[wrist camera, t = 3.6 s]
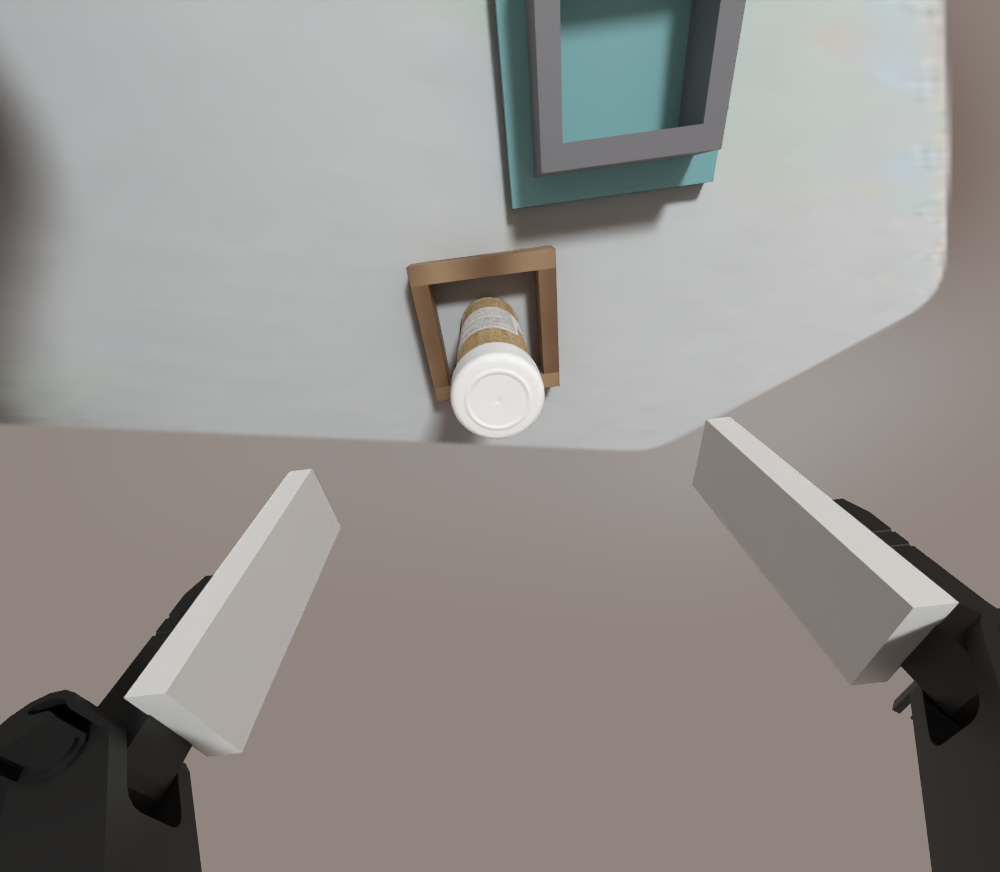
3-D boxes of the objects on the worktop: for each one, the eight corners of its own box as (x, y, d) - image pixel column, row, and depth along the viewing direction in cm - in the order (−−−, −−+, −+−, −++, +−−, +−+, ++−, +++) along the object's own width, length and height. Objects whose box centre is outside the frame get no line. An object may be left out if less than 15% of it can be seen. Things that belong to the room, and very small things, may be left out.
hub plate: (511, 208, 24) (517, 208, 21) (485, -107, 17) (487, -184, 14) (704, 182, 24) (741, 177, 21) (754, -147, 17) (822, -234, 14)
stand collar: (439, 391, 31) (437, 401, 29) (410, 264, 26) (406, 268, 24) (554, 376, 31) (559, 385, 29) (550, 245, 26) (555, 248, 24)
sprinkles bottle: (512, 357, 30) (534, 447, 18) (456, 349, 29) (444, 437, 18) (523, 300, 28) (557, 362, 16) (463, 289, 27) (454, 347, 16)
